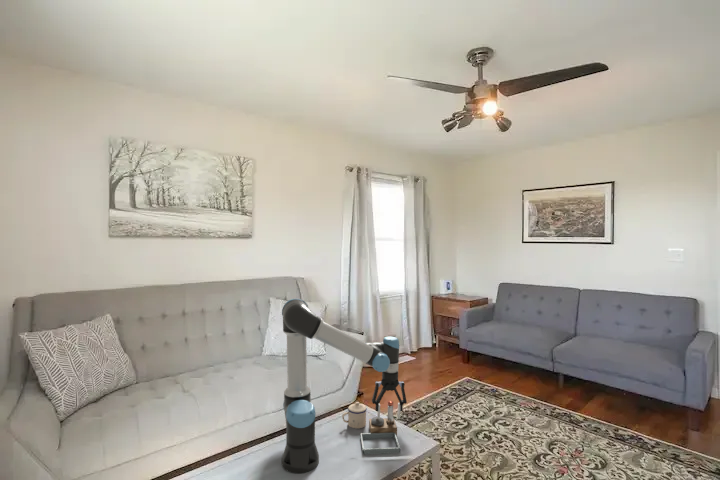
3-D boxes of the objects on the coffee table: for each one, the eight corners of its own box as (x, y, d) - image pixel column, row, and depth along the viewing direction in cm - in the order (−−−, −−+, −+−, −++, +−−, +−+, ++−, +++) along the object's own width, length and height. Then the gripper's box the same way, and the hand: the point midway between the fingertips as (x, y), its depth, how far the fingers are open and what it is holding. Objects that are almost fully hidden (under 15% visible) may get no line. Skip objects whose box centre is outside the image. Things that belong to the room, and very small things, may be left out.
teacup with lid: (363, 420, 197) (363, 397, 197) (368, 429, 188) (368, 405, 188) (340, 423, 194) (340, 400, 194) (344, 432, 185) (344, 408, 185)
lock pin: (387, 432, 184) (388, 403, 183) (386, 429, 186) (387, 400, 186) (393, 432, 184) (393, 403, 183) (392, 429, 186) (392, 400, 186)
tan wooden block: (371, 438, 180) (371, 423, 180) (369, 428, 189) (369, 414, 189) (396, 438, 181) (397, 422, 181) (393, 428, 190) (393, 413, 189)
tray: (362, 456, 166) (362, 449, 166) (360, 439, 179) (360, 433, 179) (400, 455, 167) (400, 448, 167) (395, 438, 180) (395, 432, 180)
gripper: (368, 373, 180) (366, 421, 180) (414, 373, 181) (412, 421, 182) (366, 367, 187) (365, 414, 188) (411, 367, 189) (409, 413, 189)
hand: (388, 417), depth 185 cm, fingers open, 9 cm apart
